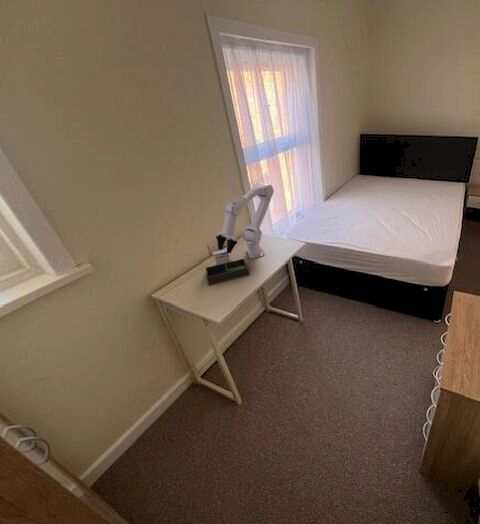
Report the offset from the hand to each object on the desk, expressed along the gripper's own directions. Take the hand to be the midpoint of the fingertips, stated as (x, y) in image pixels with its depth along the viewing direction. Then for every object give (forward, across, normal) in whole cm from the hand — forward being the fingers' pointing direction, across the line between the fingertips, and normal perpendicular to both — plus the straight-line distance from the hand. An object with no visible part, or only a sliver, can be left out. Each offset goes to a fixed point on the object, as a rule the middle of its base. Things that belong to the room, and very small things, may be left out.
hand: (224, 251), depth 151 cm
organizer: (+13, +1, +4) cm, 14 cm away
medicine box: (+10, -10, +9) cm, 16 cm away
